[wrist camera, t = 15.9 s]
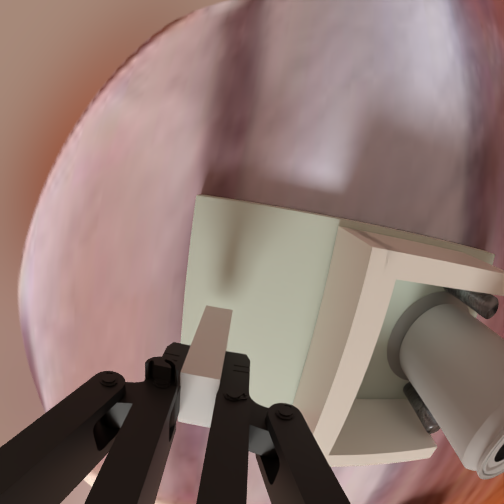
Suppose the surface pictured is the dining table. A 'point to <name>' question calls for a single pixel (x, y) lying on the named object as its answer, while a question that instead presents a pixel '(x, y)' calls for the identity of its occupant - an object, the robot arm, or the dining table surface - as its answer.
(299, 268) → the board
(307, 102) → the dining table surface
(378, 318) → the housing
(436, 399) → the beverage can
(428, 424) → the pins
